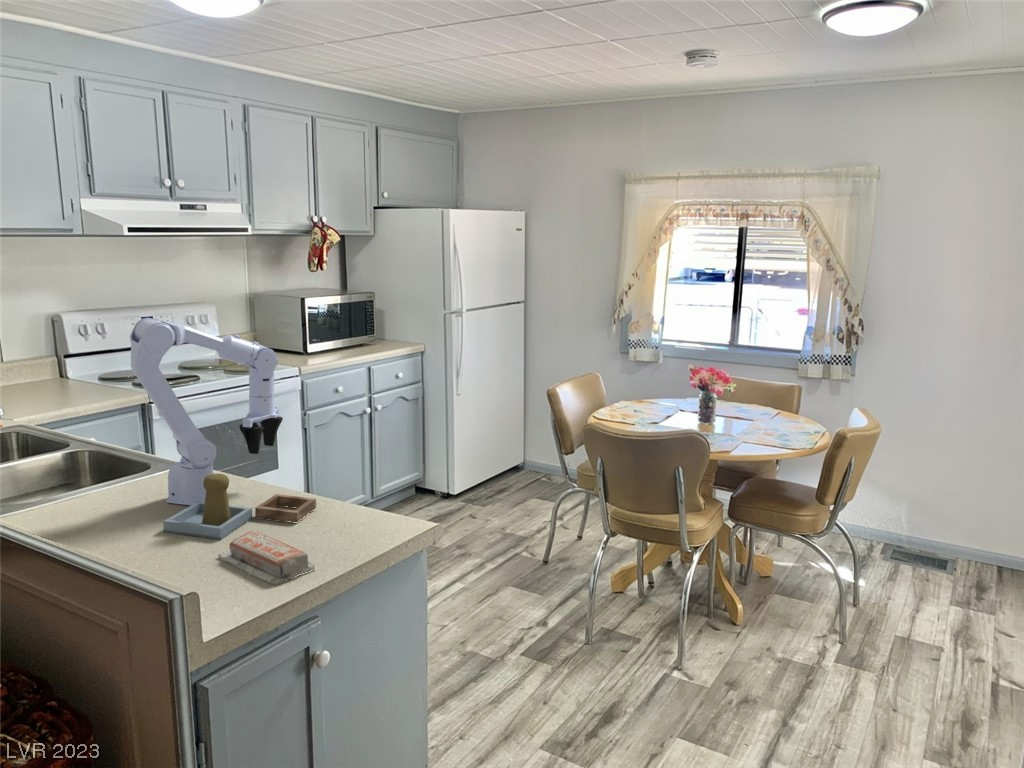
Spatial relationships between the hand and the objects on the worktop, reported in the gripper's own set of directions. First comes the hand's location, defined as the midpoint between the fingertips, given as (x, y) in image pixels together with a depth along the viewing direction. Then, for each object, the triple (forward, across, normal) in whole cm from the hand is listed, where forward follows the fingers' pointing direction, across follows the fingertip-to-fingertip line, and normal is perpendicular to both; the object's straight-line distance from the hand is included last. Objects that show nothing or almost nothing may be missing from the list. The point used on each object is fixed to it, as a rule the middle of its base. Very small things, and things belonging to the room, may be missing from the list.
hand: (261, 449), depth 193 cm
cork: (+10, -25, -3) cm, 27 cm away
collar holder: (+10, -13, -13) cm, 21 cm away
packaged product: (+11, -39, -22) cm, 46 cm away
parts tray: (+10, -25, -1) cm, 27 cm away
